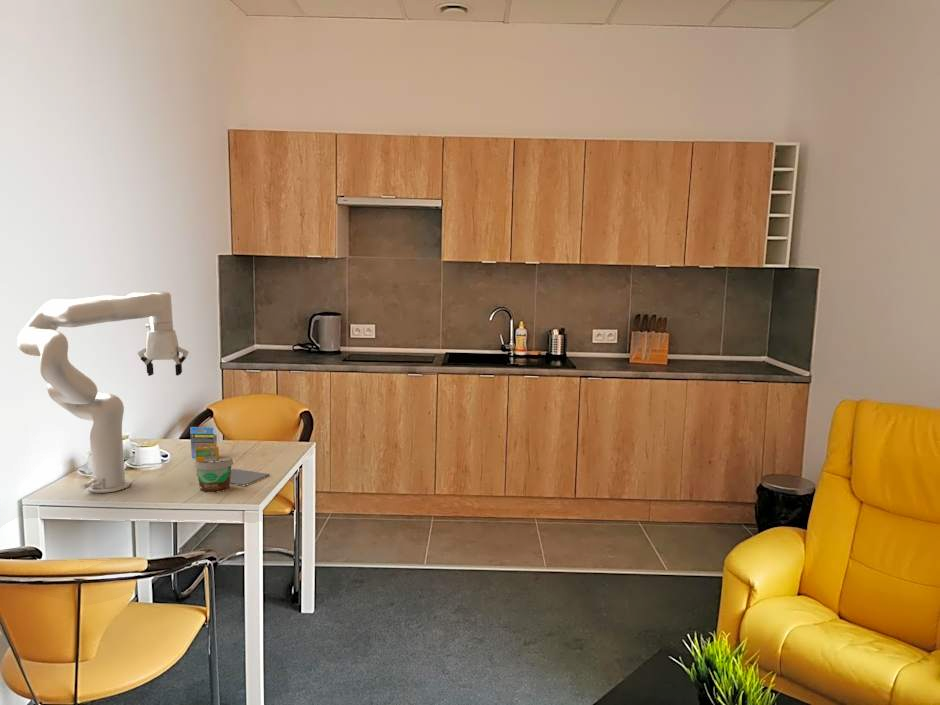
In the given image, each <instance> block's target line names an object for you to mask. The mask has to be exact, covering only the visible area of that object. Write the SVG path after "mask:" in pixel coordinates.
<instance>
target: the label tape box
mask: <svg viewBox="0 0 940 705" xmlns="http://www.w3.org/2000/svg"><path fill="white" fill-rule="evenodd" d="M201 430H202V431H201ZM189 435H190V447H191V459H192V458H196V451H195V449H196V448H195V444H203V443H216V447H218V438H217V437H218V436H217V435H216V434H214V427H208V426H207V427H200V426H192V427H191V426H190V434H189ZM201 447H210V445H202V446H201Z"/></svg>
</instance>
